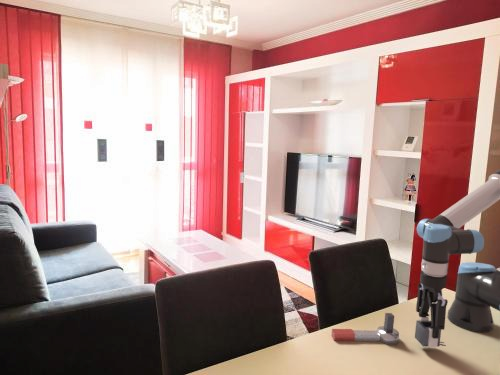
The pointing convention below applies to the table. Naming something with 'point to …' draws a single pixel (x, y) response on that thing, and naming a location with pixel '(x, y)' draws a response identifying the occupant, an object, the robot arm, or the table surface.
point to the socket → (424, 333)
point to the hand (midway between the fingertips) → (427, 340)
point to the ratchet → (370, 333)
